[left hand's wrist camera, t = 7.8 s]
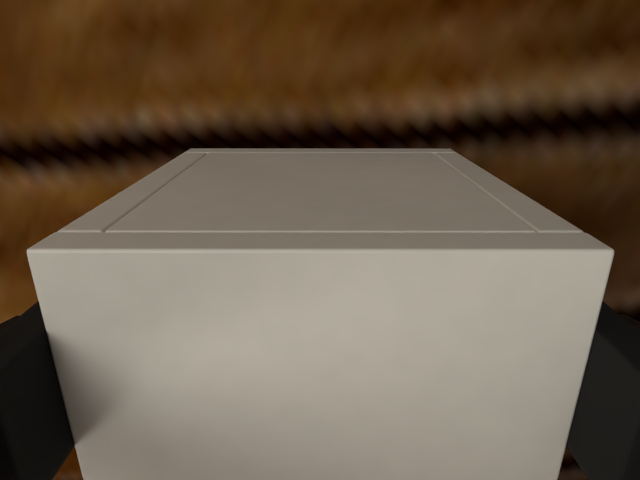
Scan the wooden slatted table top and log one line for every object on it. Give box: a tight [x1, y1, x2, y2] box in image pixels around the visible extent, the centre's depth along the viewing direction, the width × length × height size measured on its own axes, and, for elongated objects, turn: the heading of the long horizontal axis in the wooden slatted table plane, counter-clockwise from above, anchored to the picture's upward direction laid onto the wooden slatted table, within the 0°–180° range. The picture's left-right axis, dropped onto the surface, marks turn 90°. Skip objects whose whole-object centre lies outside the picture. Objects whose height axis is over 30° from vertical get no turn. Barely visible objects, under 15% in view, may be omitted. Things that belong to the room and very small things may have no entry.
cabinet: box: [27, 149, 614, 480], centre depth 15 cm, size 17×10×10 cm, turn 0°
